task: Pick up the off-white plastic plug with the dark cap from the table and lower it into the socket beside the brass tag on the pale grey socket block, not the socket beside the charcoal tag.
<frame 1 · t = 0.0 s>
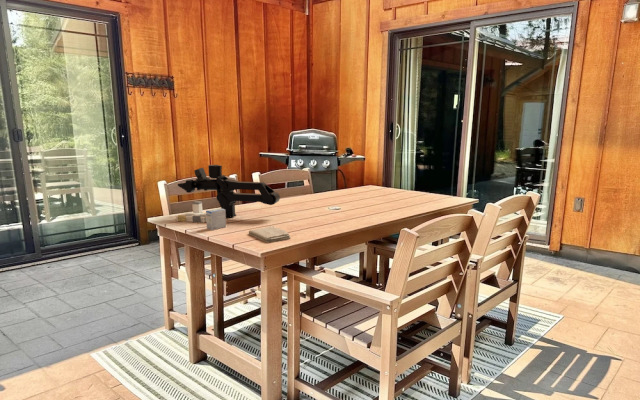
hand: (182, 183, 220), 17 cm above the table, tool horizontal, fingers open, 9 cm apart
plug: (197, 214, 223), on the table
washcloth: (269, 237, 179), on the table
socket block: (195, 219, 212), on the table
medicine box: (216, 228, 194), on the table
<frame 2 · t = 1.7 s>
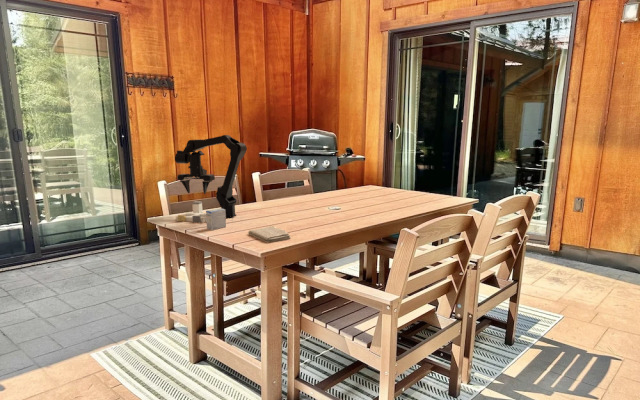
hand: (196, 193, 221), 11 cm above the table, tool pointing down, fingers open, 9 cm apart
nothing on the table moved.
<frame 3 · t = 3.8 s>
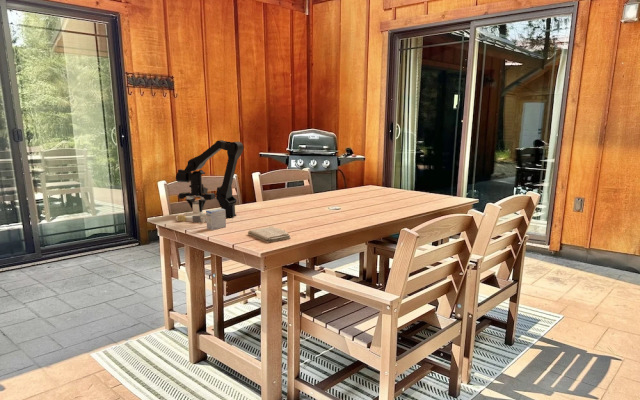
hand: (197, 211, 222), 2 cm above the table, tool pointing down, fingers closed on plug, 4 cm apart
plug: (197, 214, 223), on the table, touching gripper
everything else where it was.
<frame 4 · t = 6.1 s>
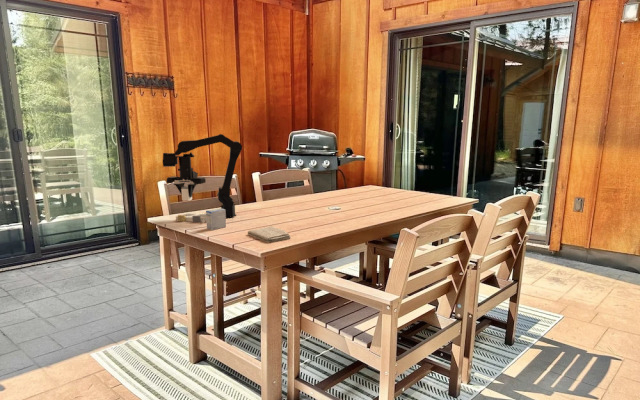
hand: (187, 197, 211), 11 cm above the table, tool pointing down, fingers closed on plug, 4 cm apart
plug: (187, 200, 212), point 10 cm above the table, touching gripper
everything else where it was.
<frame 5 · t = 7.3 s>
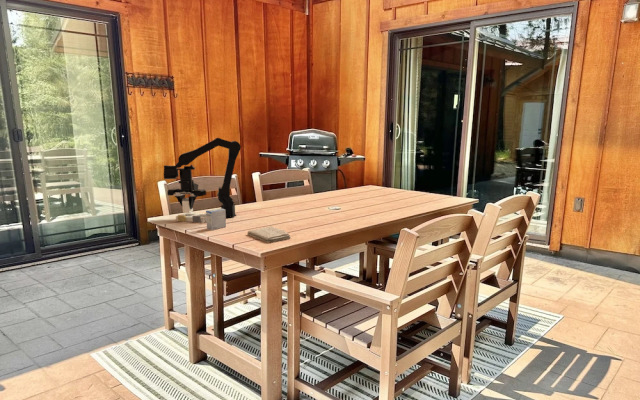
hand: (187, 209, 212), 5 cm above the table, tool pointing down, fingers closed on plug, 4 cm apart
plug: (187, 212, 213), point 3 cm above the table, touching gripper
everything else where it was.
when the fingers open (3 cm above the table, at t = 8.5 s): plug drops 2 cm, resting in socket block.
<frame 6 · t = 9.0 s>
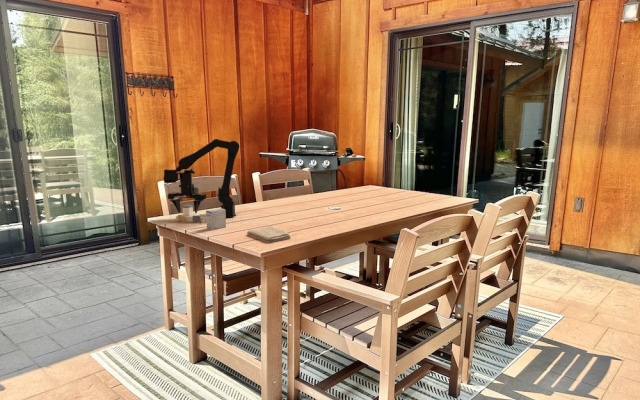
hand: (187, 212, 213), 3 cm above the table, tool pointing down, fingers open, 9 cm apart
plug: (188, 218, 213), resting in socket block
everything else where it was.
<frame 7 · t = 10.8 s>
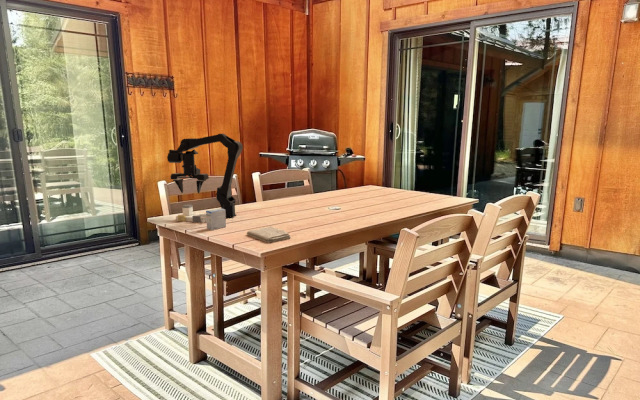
hand: (190, 192, 218), 12 cm above the table, tool pointing down, fingers open, 9 cm apart
nothing on the table moved.
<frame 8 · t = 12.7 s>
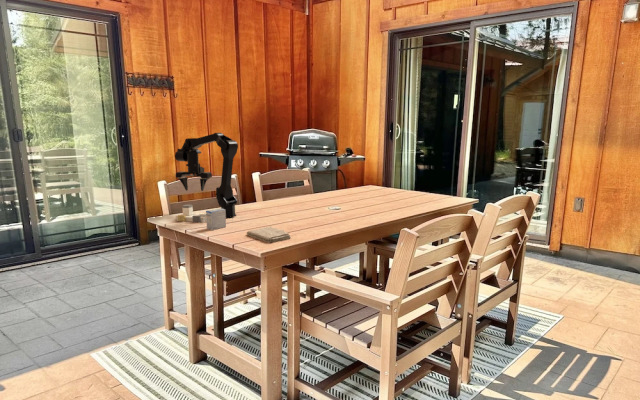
hand: (194, 190, 226), 12 cm above the table, tool pointing down, fingers open, 9 cm apart
nothing on the table moved.
at the end: plug 0.0 cm from the target spot on the socket block, point 0.0 cm above the socket block's base; plug tilted 0°; the gripper is holding nothing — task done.
